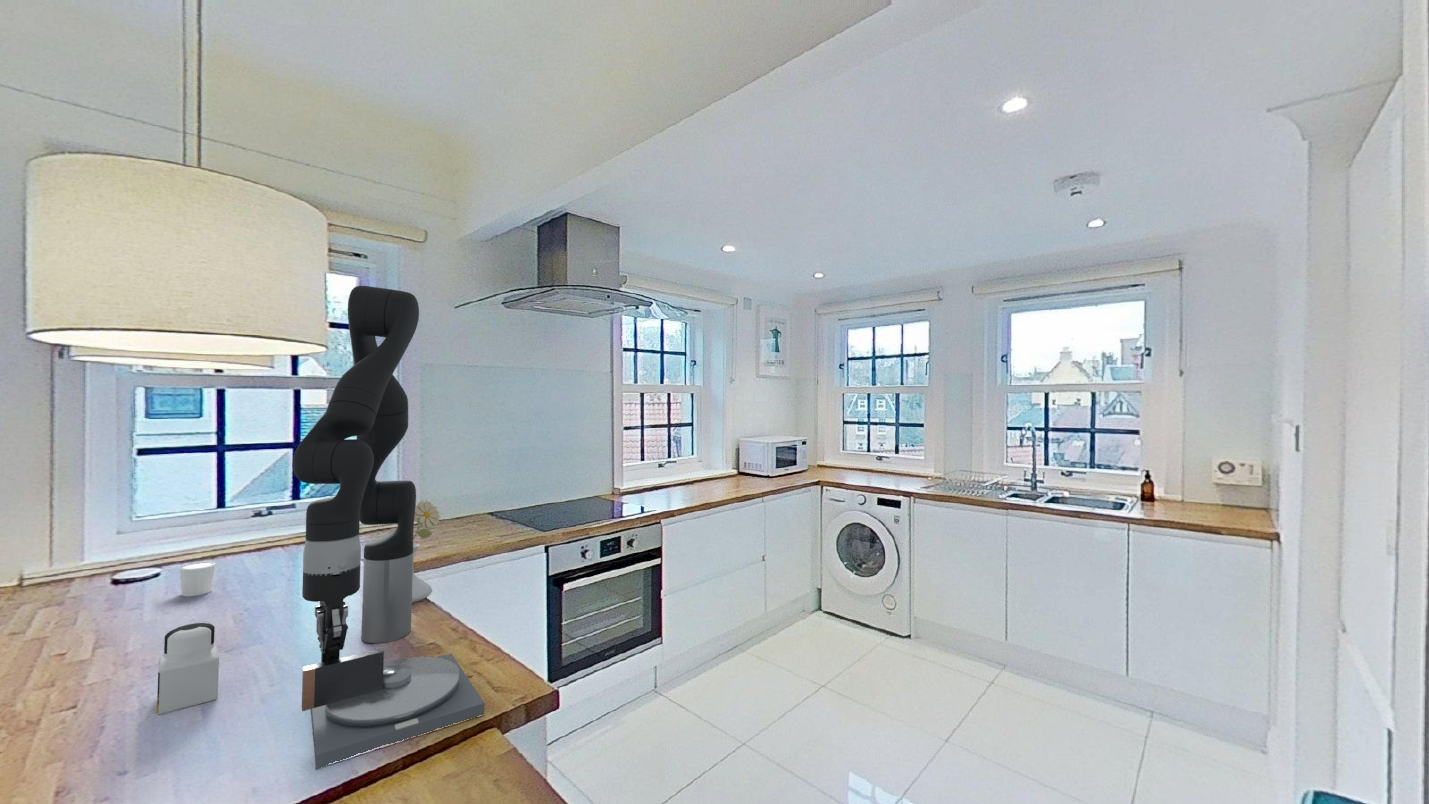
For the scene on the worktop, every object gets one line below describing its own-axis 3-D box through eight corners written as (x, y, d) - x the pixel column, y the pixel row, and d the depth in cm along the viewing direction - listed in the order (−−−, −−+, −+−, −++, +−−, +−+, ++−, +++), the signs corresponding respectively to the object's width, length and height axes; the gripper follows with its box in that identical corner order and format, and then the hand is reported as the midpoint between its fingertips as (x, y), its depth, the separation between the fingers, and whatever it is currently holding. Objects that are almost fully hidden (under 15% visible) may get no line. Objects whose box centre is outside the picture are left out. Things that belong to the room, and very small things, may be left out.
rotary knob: (442, 655, 103) (443, 615, 103) (473, 697, 88) (475, 651, 89) (297, 693, 89) (298, 647, 89) (306, 750, 74) (308, 695, 74)
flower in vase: (392, 611, 130) (395, 507, 130) (373, 600, 137) (376, 502, 137) (447, 597, 140) (449, 501, 141) (426, 587, 147) (428, 496, 148)
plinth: (309, 699, 91) (310, 686, 91) (451, 663, 105) (451, 652, 105) (315, 769, 74) (316, 753, 74) (484, 715, 88) (484, 701, 88)
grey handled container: (158, 698, 91) (160, 626, 91) (215, 683, 96) (218, 615, 96) (156, 716, 86) (159, 640, 86) (217, 699, 91) (220, 628, 91)
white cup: (207, 595, 138) (208, 568, 138) (172, 598, 135) (173, 570, 136) (220, 587, 144) (221, 560, 144) (187, 589, 142) (188, 563, 142)
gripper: (298, 559, 88) (295, 665, 89) (308, 580, 79) (305, 699, 79) (352, 551, 94) (350, 651, 94) (368, 570, 84) (366, 681, 84)
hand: (330, 673), depth 86 cm, fingers closed
